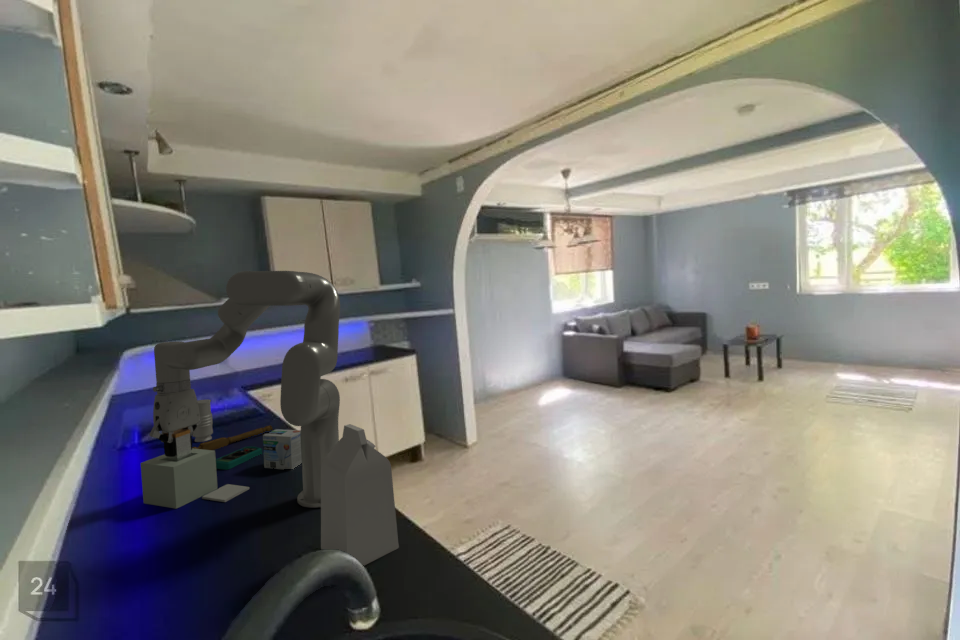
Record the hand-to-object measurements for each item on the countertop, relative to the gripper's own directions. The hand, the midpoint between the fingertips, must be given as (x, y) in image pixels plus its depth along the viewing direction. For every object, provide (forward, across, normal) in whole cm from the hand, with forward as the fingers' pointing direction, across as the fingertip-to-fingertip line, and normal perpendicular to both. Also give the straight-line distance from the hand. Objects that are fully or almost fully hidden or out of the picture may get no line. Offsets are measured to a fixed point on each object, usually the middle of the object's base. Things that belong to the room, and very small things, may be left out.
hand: (178, 452), depth 118 cm
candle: (+12, +39, +39) cm, 57 cm away
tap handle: (+13, +39, +24) cm, 48 cm away
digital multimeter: (+13, +24, +6) cm, 28 cm away
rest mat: (+12, +4, -11) cm, 17 cm away
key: (+3, 0, 0) cm, 3 cm away
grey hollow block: (+12, 0, 0) cm, 12 cm away
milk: (+13, -10, -63) cm, 65 cm away
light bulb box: (+12, +25, -13) cm, 31 cm away
